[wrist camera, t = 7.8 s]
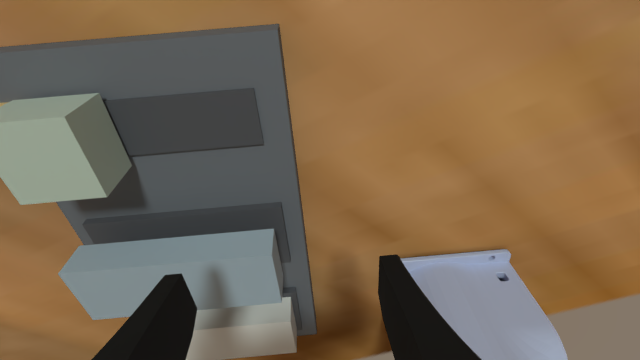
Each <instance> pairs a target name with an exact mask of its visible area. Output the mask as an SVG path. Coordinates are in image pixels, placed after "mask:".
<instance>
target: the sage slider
mask: <svg viewBox="0 0 640 360" xmlns="http://www.w3.org/2000/svg"><path fill="white" fill-rule="evenodd" d="M131 166H132V164H131V162H130V160H129V158H128V156H127V153H126V151H125V149H124V147H123V145H122V142H121V140H120V138H119V136H118V134H117V131H116V129H115V127H114V125H113V123H112V120H111V118H110V116H109V114H108V112H107V109H106V107H105V105H104V103H103V101H102V98H101V96H100V94H99V93H91V94H80V95H68V96H56V97H44V98H33V99H21V100H12V101H10V102H8V103H6V104H4V105H2V106H0V177H1V179H2V180H3V181H4V183H5V184H6V185H7V187H8V188H9V189H10V191H11V192H12V194H13V195H14V196H15V198H16V199H17V200H18V202H19V203H20V204H21V205H24V204H35V203H47V202H58V201H70V200H81V199H92V198H104V197H108V196H109V194H110V193H111V192H112V190H113V189H114V188H115V187H116V185H117V184H118V183H119V182H120V180H121V179H122V178H123V176H124V175H125V174H126V173H127V171H128V170H129V169H130V168H131Z"/></svg>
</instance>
